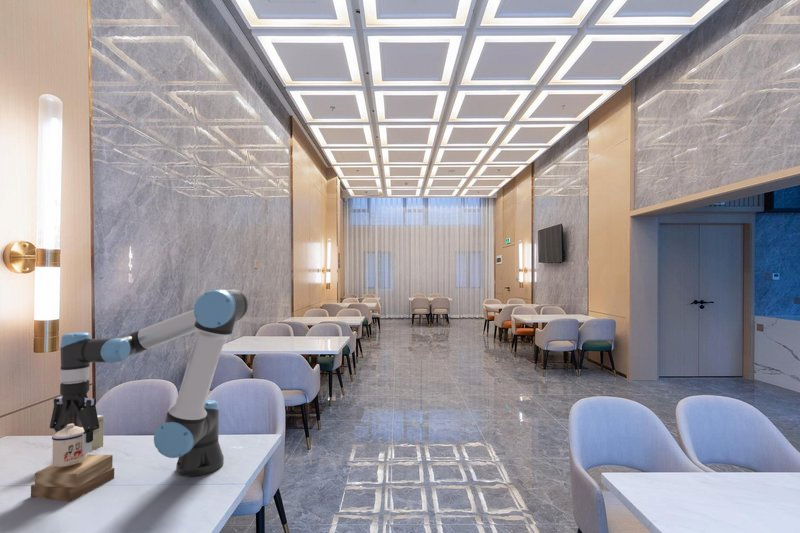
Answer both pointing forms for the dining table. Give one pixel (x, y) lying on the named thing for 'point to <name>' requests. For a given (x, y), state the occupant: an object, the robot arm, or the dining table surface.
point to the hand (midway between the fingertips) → (74, 451)
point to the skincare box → (98, 434)
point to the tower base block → (71, 488)
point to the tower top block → (74, 472)
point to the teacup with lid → (68, 446)
